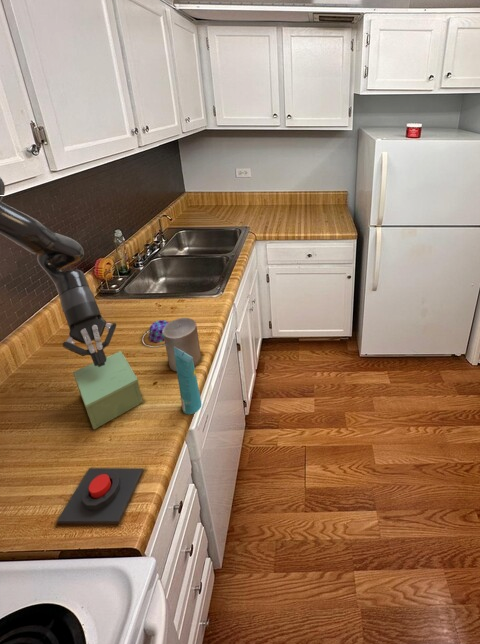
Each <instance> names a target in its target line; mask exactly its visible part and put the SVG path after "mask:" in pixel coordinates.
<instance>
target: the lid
mask: <svg viewBox="0 0 480 644" xmlns="http://www.w3.org/2000/svg"><path fill="white" fill-rule="evenodd" d="M72 373H73V377H74V376H75V377H74V380H75V379H76V380H75V382H76V385H77V388H78V387H79V388H78V391H79V390H80V391H79V394H80V393H81V394H80V396H81V395H82V397H81V399H82V398H83V400H82V402H83V401H84V403H85V405H84V407H85V406H86V408H87V407H89V406H91V405H93V404H95V403H97V402H99V401H101V400H103V399H105V398H107V397H109V396H111V395H112V394H114V393H116V392H118V391H120V390H122V389H124V388H126V387H128V386H130V385H132V384H134V383H136V382H138V383H139V379H138V377H137V375H136V374H135V372H134V370H133V368H132V367H131V365H130V364H129V361H128V359H127V358H126V357H125V355H124V353H123V352H122V350H119V351H117V352H115V353H112V354H111V355H109V356H106V362H105V365H103V366H101V367H98V366H95V365H94V363H93V362H92V363H90V364H87V365H86V366H83V367H81V368H79V369H77V370H74V371H73V372H72ZM84 403H83V404H84ZM86 408H85V409H86Z"/></svg>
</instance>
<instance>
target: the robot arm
mask: <svg viewBox="0 0 480 644" xmlns="http://www.w3.org/2000/svg"><path fill="white" fill-rule="evenodd" d="M5 192H6V186H5V182H4V180H3V178H1V177H0V195H4V196H0V235H2V236H4V237H5V238H6V239H8V240H10V241H11V242H13V243H15V244H16V245H18V246H19V247H21V248H23V249H24V250H26V251H27V252H29V253H31V254H33V255H36V256H37V257H36V260H37V263H38V264H39V266H40V267H41V268H42V270H43V271H45V273H46V274H47V275H48V277H49V278H50V279H51V281H52V282H53V284H54V286H55V288H56V291H57V294H58V297H59V299H60V301H59V302H60V306H61V310H62V313H63V314H64V317H65V320H66V323H67V326H68V329H69V332H68V335H69V337H68V338H67V339H66V341H64V342H62V347H63V349H65V350H68V351H70V352H72V353H75V354H77V355H79V356H82V357H85V356H90V357H91V360H92V363H94V365H95V366H98V367H101V366H103V365H105V362H106V357H107V356H106V353H105V351H104V350H105V349H106V348H107V347H109V346H110V343H111V340H112V338H113V336H114V333H115V331H116V329H117V323H115V322H113V323H109V322H107V320H106V319H104V317H103V316H102V312H101V311H100V308H99V306H98V303H97V300H96V298H95V295H94V293H93V292H92V290H91V288H90V286H89V283H88V280H87V277H86V275H85V273H84V272H83V270H81V269H70V270H66V271H63V270H62V269H65V268H66V267H69V266H71V265H73V264H76V263H78V262H80V261H82V259H84V257H85V250H84V248H83V245H82V244H81V243H79V242H78V241H77V240H76V239H74V238H71V237H69V236H66V235H63V234H61V233H57V232H54V231H52V230H51V229H50V228H49V227H47V226H46V225H45V224H43V223H42V222H40V221H39V220H37V219H36V218H34V217H32V216H30V215H28V214H26V213H24V212H22V211H19V210H17V209H16V208H14V207H12V206H10V205H8V204H7V203H4V202H3V200H4V197H5V194H6V193H5ZM105 329H106V332H107V335H106V337H105V339H104V341H103V342H102V339H101V338H102V336H103V333H104V331H105ZM75 341H76V342H78V343H80V344H83V345H85V347H86V348H87V349H85V348H83V347H81V346H79V345H76V343H75ZM93 342H94V344H95V347H94V344H93Z"/></svg>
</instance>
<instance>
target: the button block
mask: <svg viewBox="0 0 480 644" xmlns="http://www.w3.org/2000/svg"><path fill="white" fill-rule="evenodd" d="M143 473H144V469H143V468H130V467H129V468H127V467H126V468H125V467H123V468H121V467H120V468H116V467H115V468H113V467H110V468H104V467H103V468H95V467H94V468H93V467H91V468H88V470H87V471H86V473H85V474H84V476H83V478H82V480H81V481H80V483H79V484H78V485H77V487H76V489H75V491H74V492H73V494H72V496H71V497H70V499H69V500H68V502H67V504H66V505H65V506H64V508H63V510H62V512H61V514H60V515H59V517H58V518H57V520H56V522H57V525H120V523H121V521H122V519H123V518H124V515H125V513H126V510H127V508H128V506H129V504H130V502H131V499H133V498H132V497H133V495H134V493H135V491H136V490H137V487H138V485H139V482H140V480H141V478H142V476H143ZM102 474H106V475H108V476H109V478H110V481H111V487H110V489H109V490H108V492H107V493H106V494H105V495H103V496H102V497H100V498H93V497H92V496H91V494H90V491H89V485H90V483H91V482H92V481H93V479H95V478H96V477H97V476H99V475H102Z"/></svg>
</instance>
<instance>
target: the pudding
mask: <svg viewBox="0 0 480 644" xmlns="http://www.w3.org/2000/svg"><path fill="white" fill-rule="evenodd" d="M168 323H169V321H167V320H165V319H160V320H157V321H154V322H153V323H152V324H151V325H150V326H149V330H148V339H149V342H151V343H156V344H158V343H161V342H165V341H164V336H163V333H162V331H163V329H164V327H165V326H166V325H167V324H168ZM145 336H146V334H144V335H143V336H142V343H143V344H144V345H145V346H147V347H149V348H150V347H152V348H156V347H159V345H157V346H153V345H152V346H151V345H147V344H146V343H145V342H144V337H145ZM162 346H164V344H163V345H160V347H162Z"/></svg>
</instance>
